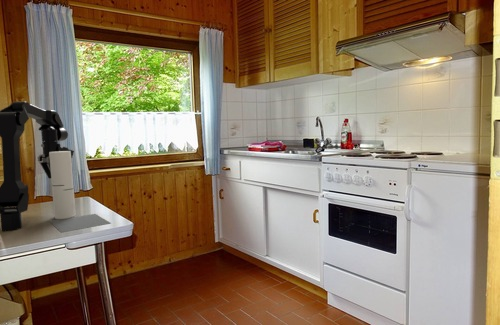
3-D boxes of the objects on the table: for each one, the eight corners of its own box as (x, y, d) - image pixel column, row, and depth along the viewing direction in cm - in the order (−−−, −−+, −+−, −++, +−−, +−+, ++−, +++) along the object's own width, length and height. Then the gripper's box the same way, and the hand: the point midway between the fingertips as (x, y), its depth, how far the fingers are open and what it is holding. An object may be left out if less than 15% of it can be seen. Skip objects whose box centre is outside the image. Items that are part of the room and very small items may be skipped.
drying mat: (111, 224, 122) (111, 223, 122) (61, 233, 112) (61, 232, 112) (94, 214, 137) (94, 213, 137) (49, 222, 128) (49, 221, 128)
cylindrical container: (56, 216, 137) (50, 151, 135) (76, 214, 140) (71, 150, 138) (53, 220, 130) (47, 152, 128) (74, 218, 133) (69, 151, 131)
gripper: (78, 140, 144) (81, 178, 146) (64, 140, 158) (67, 175, 159) (47, 141, 137) (50, 181, 138) (35, 141, 150) (39, 178, 152)
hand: (53, 179), depth 147 cm, fingers open, 9 cm apart
